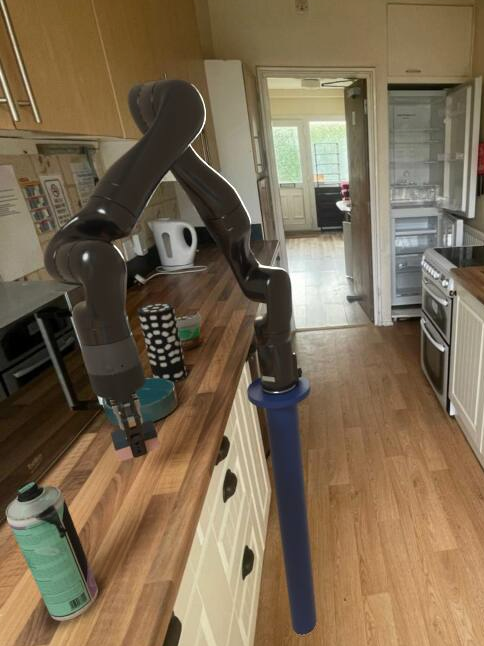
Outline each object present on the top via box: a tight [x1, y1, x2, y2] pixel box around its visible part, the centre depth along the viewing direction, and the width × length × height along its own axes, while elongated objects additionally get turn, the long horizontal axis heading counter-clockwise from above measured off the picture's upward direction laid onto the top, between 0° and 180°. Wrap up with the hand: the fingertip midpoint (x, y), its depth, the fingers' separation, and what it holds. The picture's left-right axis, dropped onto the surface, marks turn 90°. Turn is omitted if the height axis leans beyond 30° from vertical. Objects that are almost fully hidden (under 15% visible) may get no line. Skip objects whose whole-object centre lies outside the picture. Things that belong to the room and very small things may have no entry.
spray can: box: [5, 480, 99, 622], centre depth 54 cm, size 6×6×20 cm
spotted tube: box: [137, 302, 188, 383], centre depth 114 cm, size 8×8×20 cm
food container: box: [176, 310, 202, 351], centre depth 134 cm, size 12×6×10 cm, turn 132°
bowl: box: [101, 377, 179, 427], centre depth 101 cm, size 15×15×5 cm
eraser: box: [110, 420, 161, 463], centre depth 75 cm, size 6×4×4 cm, turn 127°
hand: (138, 448), depth 76 cm, fingers closed on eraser, 3 cm apart
